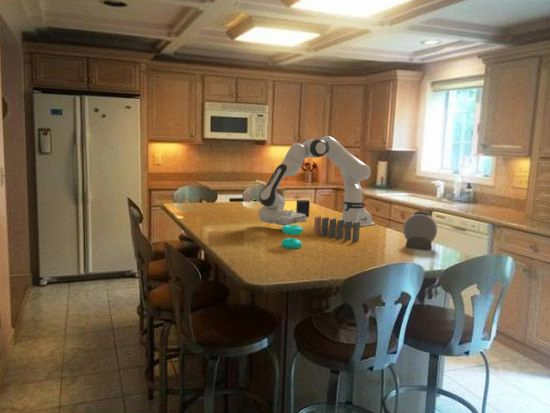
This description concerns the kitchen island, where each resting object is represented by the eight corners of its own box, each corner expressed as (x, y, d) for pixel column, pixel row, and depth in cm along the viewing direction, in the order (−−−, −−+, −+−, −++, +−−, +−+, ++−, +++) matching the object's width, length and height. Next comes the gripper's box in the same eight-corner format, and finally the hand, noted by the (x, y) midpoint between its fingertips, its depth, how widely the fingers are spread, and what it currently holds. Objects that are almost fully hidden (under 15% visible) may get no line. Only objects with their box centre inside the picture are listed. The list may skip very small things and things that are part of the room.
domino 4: (336, 239, 253) (337, 220, 251) (340, 237, 257) (341, 219, 256) (339, 239, 252) (340, 220, 251) (343, 238, 256) (344, 219, 255)
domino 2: (321, 236, 257) (322, 218, 256) (325, 235, 262) (326, 217, 260) (323, 237, 257) (324, 218, 255) (327, 235, 261) (328, 217, 259)
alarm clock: (435, 247, 243) (438, 211, 240) (435, 251, 233) (438, 214, 231) (402, 243, 248) (405, 209, 246) (401, 247, 239) (404, 211, 236)
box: (306, 215, 329) (307, 200, 327) (309, 216, 323) (309, 201, 322) (295, 215, 327) (296, 199, 326) (297, 216, 322) (298, 201, 320)
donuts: (284, 223, 234) (304, 225, 232) (283, 243, 236) (303, 245, 234) (280, 227, 224) (301, 228, 223) (279, 248, 226) (300, 249, 224)
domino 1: (313, 235, 260) (314, 217, 258) (317, 234, 264) (318, 216, 263) (316, 235, 259) (317, 217, 258) (320, 234, 263) (321, 216, 262)
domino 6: (352, 241, 248) (353, 222, 247) (355, 240, 252) (357, 221, 251) (355, 241, 247) (356, 222, 246) (358, 240, 251) (360, 221, 250)
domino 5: (344, 240, 250) (345, 221, 249) (347, 238, 255) (349, 220, 253) (347, 240, 250) (348, 221, 248) (350, 239, 254) (352, 220, 252)
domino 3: (328, 237, 255) (329, 219, 254) (332, 236, 259) (333, 218, 258) (331, 238, 254) (332, 219, 253) (335, 236, 258) (336, 218, 257)
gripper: (274, 214, 263) (296, 217, 256) (292, 210, 280) (313, 213, 273) (273, 225, 264) (295, 228, 256) (292, 220, 281) (313, 223, 274)
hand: (305, 220), depth 265 cm, fingers closed
